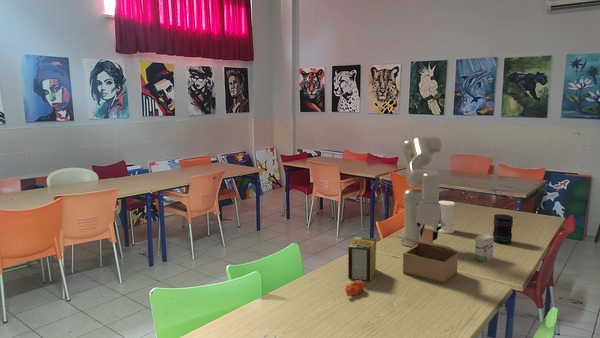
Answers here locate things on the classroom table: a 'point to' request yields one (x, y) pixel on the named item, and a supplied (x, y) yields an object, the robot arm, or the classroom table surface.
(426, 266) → the carton
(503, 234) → the storage jar
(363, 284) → the orange toy bird
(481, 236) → the ink box
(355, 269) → the protein box
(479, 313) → the classroom table surface
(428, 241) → the lid flap
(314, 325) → the classroom table surface
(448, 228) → the decorative container
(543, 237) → the classroom table surface
